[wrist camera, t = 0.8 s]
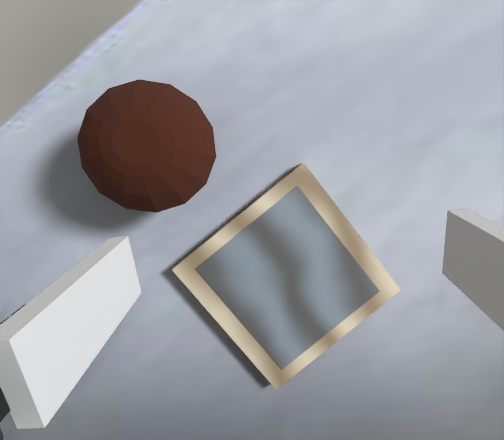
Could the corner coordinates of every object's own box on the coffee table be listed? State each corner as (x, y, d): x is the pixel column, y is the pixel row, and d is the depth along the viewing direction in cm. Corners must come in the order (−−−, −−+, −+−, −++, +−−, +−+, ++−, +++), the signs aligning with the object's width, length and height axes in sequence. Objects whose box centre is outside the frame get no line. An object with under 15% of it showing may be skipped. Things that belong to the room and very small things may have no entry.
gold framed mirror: (274, 381, 38) (276, 390, 36) (174, 266, 36) (171, 270, 34) (394, 285, 38) (401, 290, 36) (300, 163, 36) (303, 162, 34)
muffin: (225, 110, 34) (222, 79, 25) (212, 213, 36) (205, 223, 26) (111, 93, 34) (61, 54, 24) (102, 199, 35) (50, 203, 25)
